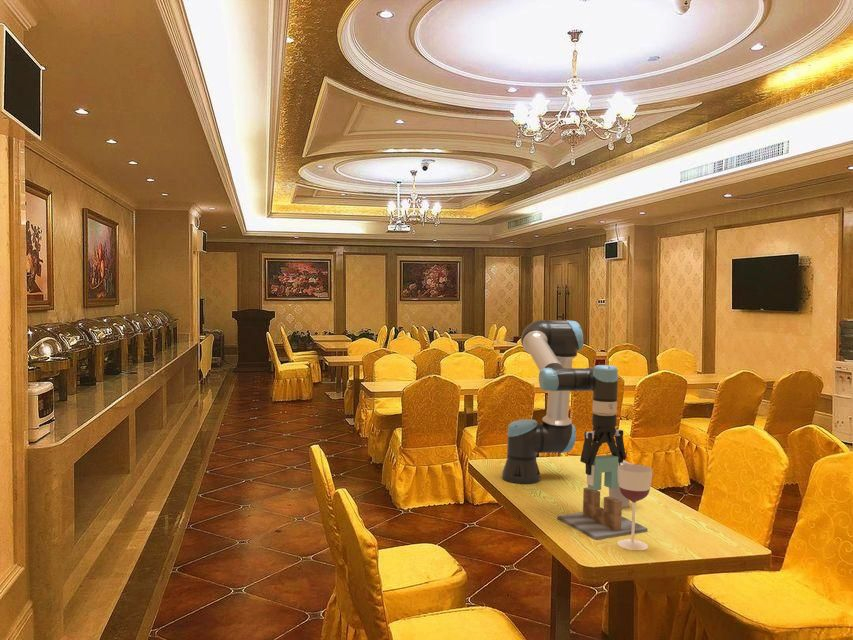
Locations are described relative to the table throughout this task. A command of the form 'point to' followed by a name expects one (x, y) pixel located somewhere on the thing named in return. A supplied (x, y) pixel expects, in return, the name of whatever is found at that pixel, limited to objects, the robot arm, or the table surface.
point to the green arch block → (609, 467)
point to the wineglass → (634, 495)
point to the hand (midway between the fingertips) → (602, 483)
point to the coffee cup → (617, 494)
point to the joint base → (600, 517)
